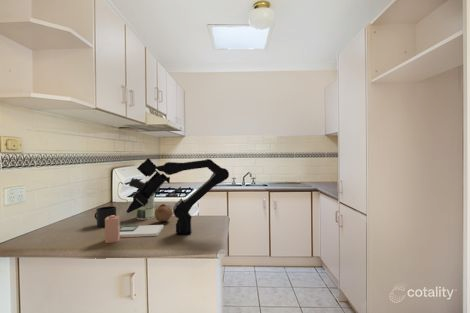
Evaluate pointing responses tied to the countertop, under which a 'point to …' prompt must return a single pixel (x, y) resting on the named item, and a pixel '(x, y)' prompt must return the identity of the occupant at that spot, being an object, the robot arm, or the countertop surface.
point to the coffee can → (146, 210)
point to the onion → (163, 213)
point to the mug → (104, 214)
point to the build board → (140, 230)
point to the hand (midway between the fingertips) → (128, 210)
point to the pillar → (112, 229)
